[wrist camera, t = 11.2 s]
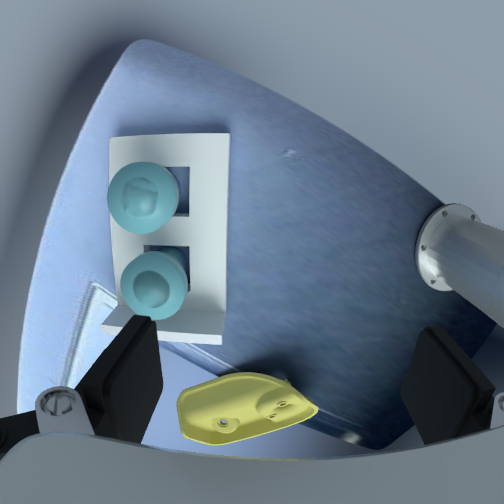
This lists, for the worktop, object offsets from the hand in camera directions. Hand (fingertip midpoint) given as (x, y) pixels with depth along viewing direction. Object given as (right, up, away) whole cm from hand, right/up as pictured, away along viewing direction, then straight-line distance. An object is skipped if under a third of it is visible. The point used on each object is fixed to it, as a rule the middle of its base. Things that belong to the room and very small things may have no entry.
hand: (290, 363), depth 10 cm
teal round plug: (-12, +11, +26) cm, 31 cm away
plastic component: (-2, -19, +35) cm, 40 cm away
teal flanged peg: (-11, +2, +29) cm, 31 cm away
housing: (-11, +7, +28) cm, 30 cm away
